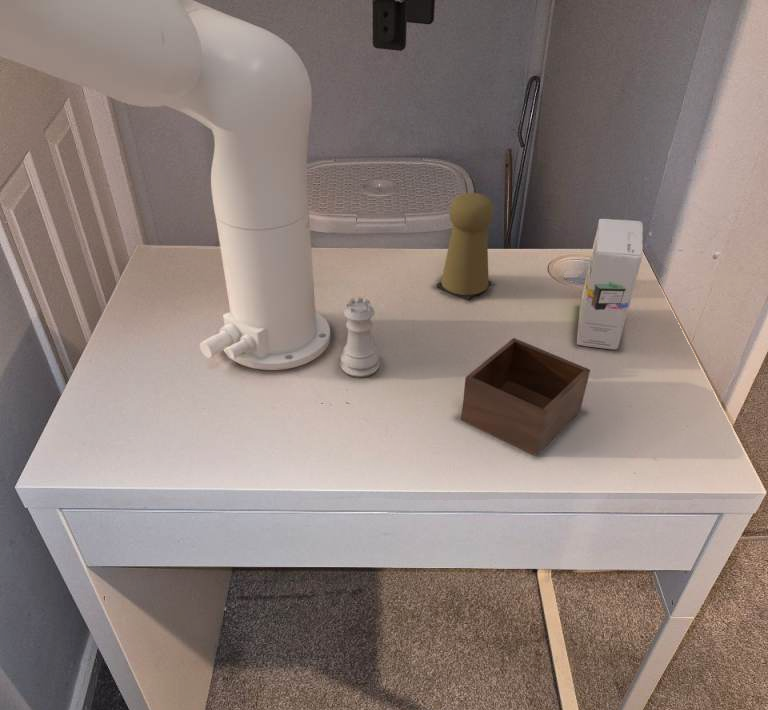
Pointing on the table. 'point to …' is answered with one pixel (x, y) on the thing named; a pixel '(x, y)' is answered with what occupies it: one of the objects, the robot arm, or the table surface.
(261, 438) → the table surface
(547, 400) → the walnut box
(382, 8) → the robot arm
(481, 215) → the olive yellow pawn
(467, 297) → the rubber pad
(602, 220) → the ink box
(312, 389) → the table surface
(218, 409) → the table surface
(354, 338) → the rook chess piece
